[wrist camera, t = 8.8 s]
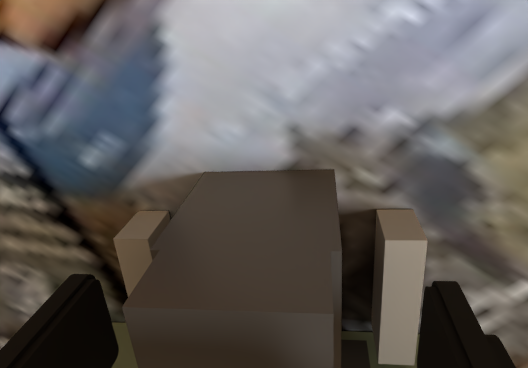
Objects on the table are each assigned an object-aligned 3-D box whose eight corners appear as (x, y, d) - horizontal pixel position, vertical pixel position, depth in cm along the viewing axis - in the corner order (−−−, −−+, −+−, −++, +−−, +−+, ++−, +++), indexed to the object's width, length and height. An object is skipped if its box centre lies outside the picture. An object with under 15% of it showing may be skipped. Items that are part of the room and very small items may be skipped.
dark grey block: (334, 169, 13) (347, 314, 7) (334, 309, 16) (344, 513, 9) (205, 171, 14) (109, 306, 8) (223, 306, 16) (163, 494, 10)
